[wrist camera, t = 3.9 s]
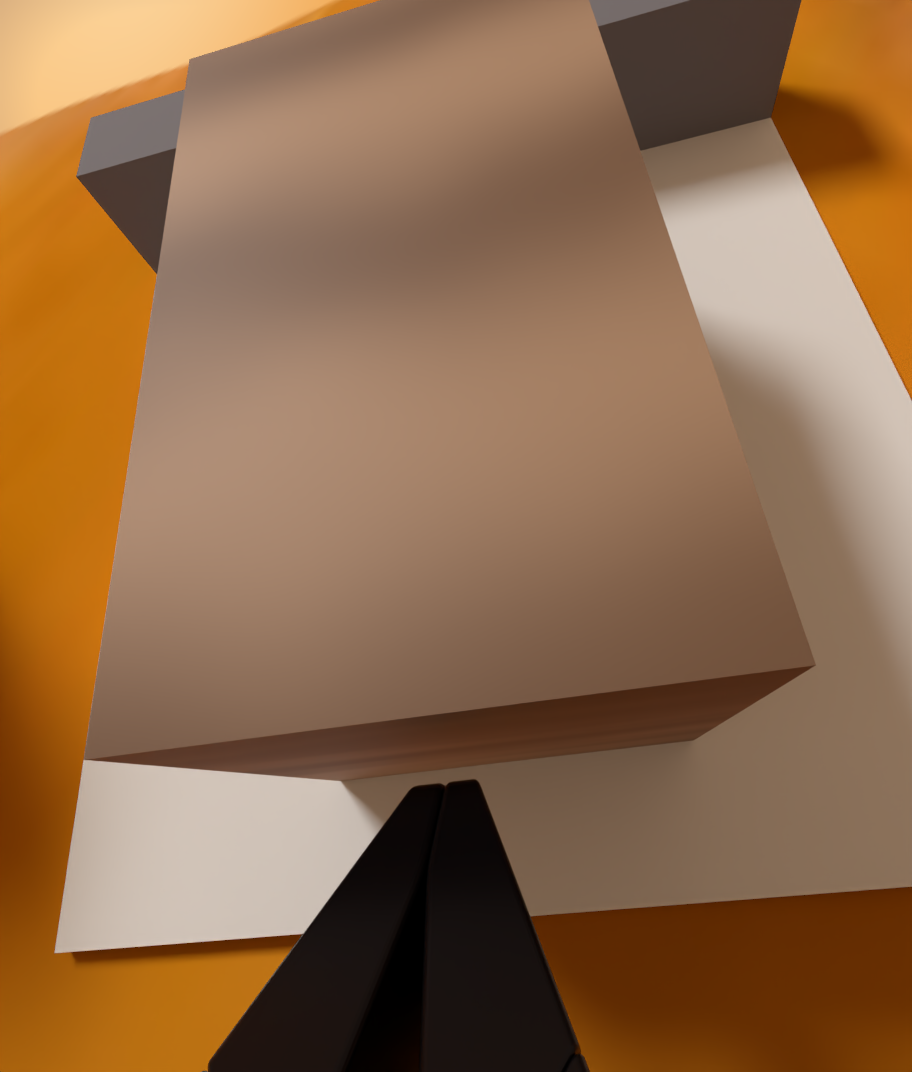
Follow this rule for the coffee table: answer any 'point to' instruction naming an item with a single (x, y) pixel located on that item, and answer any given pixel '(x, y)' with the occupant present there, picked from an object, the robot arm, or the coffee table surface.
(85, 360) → the coffee table surface
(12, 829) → the coffee table surface
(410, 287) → the walnut slab
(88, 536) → the coffee table surface
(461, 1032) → the robot arm
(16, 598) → the coffee table surface
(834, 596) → the white board
